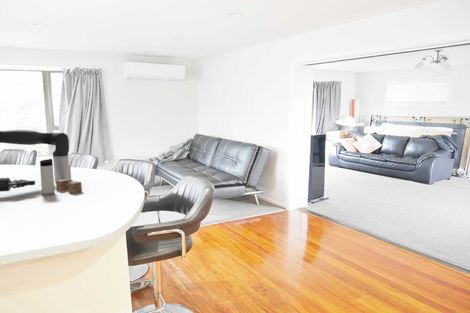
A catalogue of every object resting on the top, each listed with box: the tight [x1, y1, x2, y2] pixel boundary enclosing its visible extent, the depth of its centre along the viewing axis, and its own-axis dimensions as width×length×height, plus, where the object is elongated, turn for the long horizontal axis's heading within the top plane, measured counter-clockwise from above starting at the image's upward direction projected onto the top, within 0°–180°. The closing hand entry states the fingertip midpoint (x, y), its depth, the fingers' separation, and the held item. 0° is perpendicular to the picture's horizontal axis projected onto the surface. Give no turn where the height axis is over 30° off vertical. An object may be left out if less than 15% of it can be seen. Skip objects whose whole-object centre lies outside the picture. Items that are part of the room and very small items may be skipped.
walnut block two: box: [55, 179, 70, 192], centre depth 196 cm, size 5×5×6 cm
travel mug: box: [39, 158, 55, 196], centre depth 186 cm, size 6×7×20 cm
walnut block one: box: [68, 181, 83, 195], centre depth 190 cm, size 5×5×6 cm
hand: (34, 182), depth 184 cm, fingers closed
